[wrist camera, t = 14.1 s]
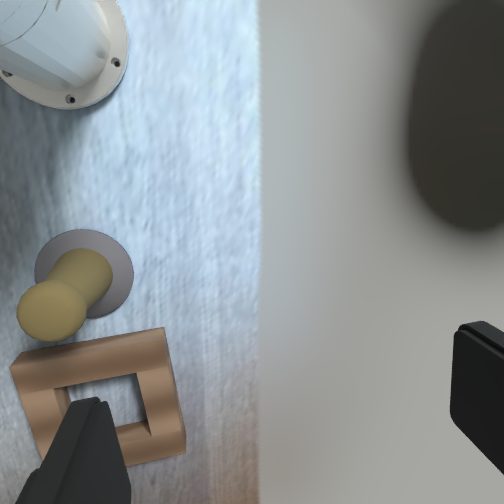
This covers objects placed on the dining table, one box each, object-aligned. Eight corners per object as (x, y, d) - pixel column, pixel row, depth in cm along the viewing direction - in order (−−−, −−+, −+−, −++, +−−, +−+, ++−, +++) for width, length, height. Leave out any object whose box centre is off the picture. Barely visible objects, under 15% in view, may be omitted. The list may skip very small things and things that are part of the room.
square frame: (21, 352, 41) (8, 367, 38) (163, 326, 43) (161, 339, 40) (59, 462, 46) (50, 483, 43) (186, 434, 47) (185, 453, 45)
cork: (81, 310, 40) (43, 367, 30) (40, 270, 38) (-16, 315, 28) (124, 279, 40) (101, 324, 30) (86, 236, 38) (46, 269, 28)
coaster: (25, 236, 38) (22, 238, 37) (123, 223, 39) (122, 224, 38) (51, 322, 41) (49, 324, 40) (141, 307, 42) (141, 309, 41)
